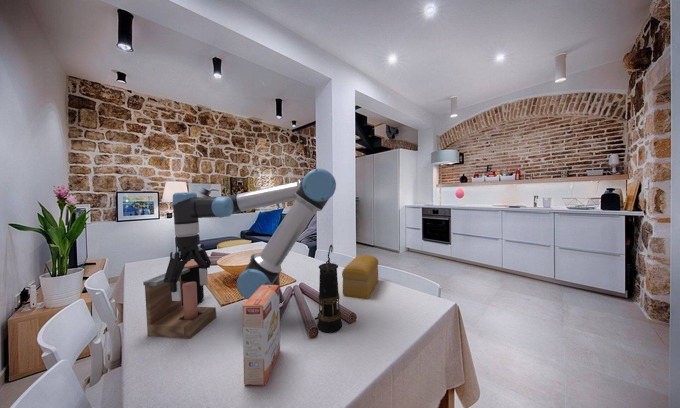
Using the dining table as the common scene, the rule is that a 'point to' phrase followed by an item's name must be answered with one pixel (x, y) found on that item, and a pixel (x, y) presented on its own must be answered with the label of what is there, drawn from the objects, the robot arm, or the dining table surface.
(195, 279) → the coffee jar
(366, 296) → the bread
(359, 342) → the dining table surface
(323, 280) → the lantern
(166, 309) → the station
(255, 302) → the cracker box
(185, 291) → the peg
